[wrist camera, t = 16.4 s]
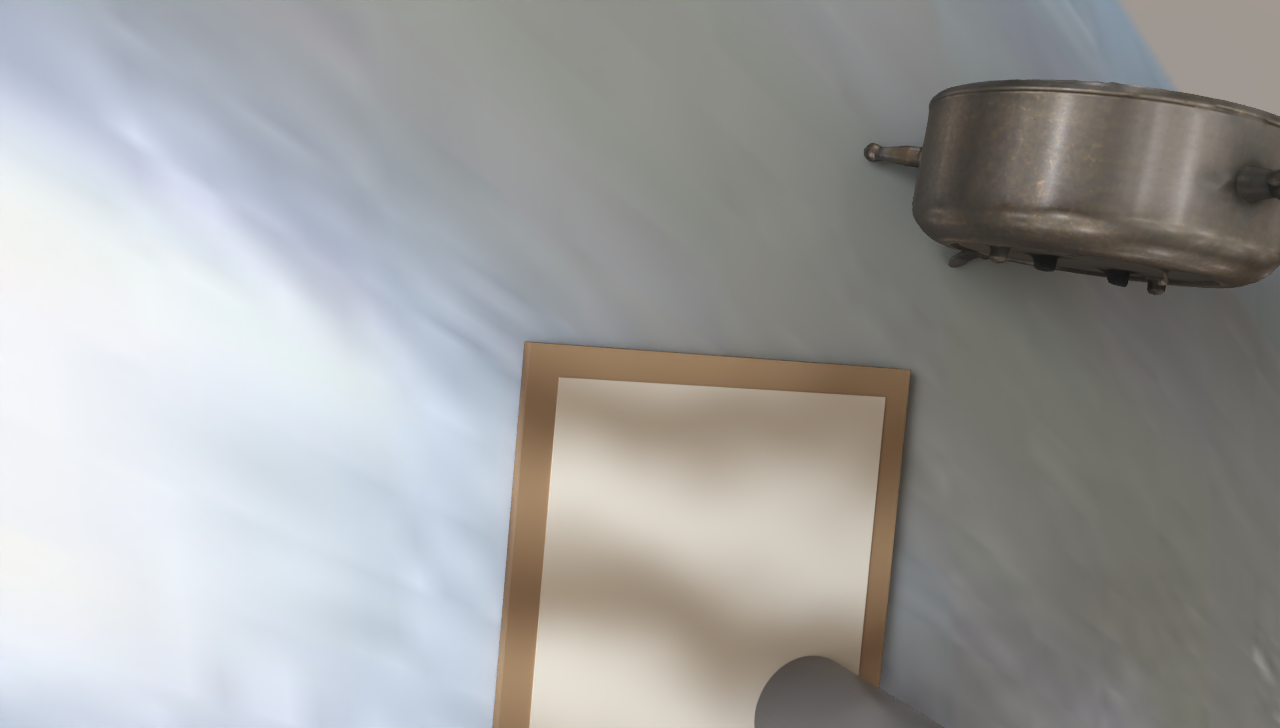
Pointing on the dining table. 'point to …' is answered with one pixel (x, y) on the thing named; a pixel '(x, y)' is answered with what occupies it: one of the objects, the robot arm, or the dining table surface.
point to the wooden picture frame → (692, 533)
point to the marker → (830, 700)
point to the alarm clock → (1100, 181)
